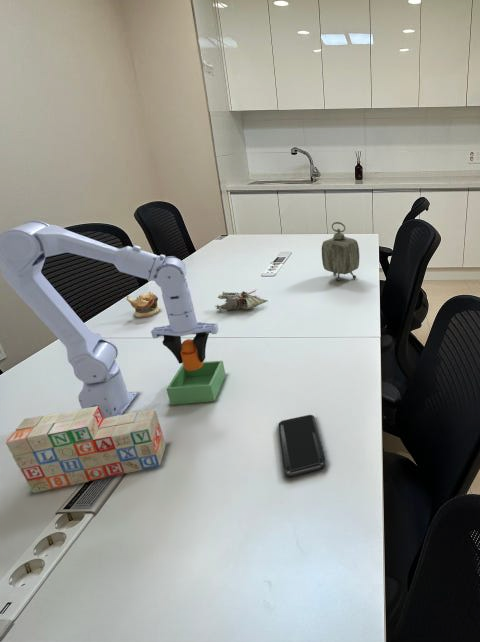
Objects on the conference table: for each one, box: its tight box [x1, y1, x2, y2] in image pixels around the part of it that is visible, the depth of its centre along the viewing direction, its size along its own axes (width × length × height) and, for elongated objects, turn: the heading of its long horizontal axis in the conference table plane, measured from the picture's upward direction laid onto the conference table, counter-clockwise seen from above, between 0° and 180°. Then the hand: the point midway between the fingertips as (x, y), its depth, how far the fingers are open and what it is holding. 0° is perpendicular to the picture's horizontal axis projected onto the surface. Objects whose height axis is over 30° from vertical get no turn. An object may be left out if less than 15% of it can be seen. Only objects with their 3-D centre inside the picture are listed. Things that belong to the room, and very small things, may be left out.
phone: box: [278, 414, 327, 478], centre depth 79 cm, size 8×1×15 cm
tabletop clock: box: [321, 221, 360, 281], centre depth 165 cm, size 14×9×25 cm, turn 58°
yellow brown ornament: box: [126, 291, 160, 319], centre depth 140 cm, size 12×10×8 cm
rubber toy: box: [180, 338, 204, 371], centre depth 94 cm, size 4×4×7 cm
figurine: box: [214, 288, 269, 311], centre depth 143 cm, size 20×6×17 cm
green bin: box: [166, 360, 227, 406], centre depth 97 cm, size 11×10×5 cm
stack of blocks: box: [5, 406, 166, 494], centre depth 73 cm, size 21×6×12 cm, turn 105°
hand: (192, 360), depth 95 cm, fingers closed on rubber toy, 4 cm apart
